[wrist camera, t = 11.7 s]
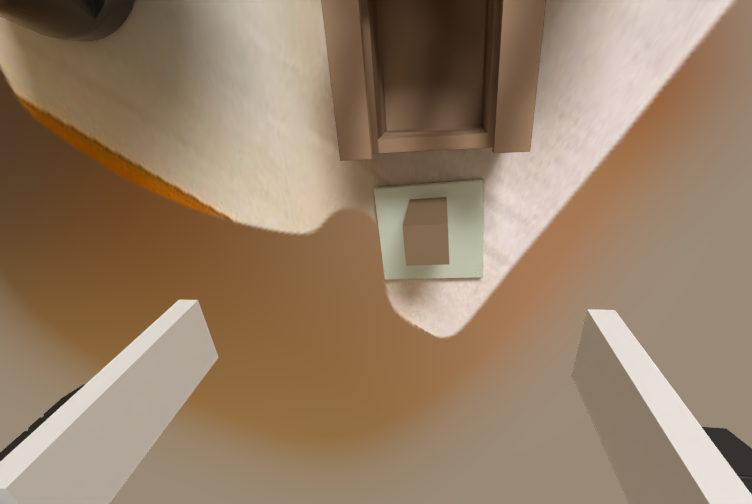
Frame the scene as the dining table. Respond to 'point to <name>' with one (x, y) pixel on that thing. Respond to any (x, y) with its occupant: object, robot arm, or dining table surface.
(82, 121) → the dining table surface
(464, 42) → the box
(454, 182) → the lid
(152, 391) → the robot arm
